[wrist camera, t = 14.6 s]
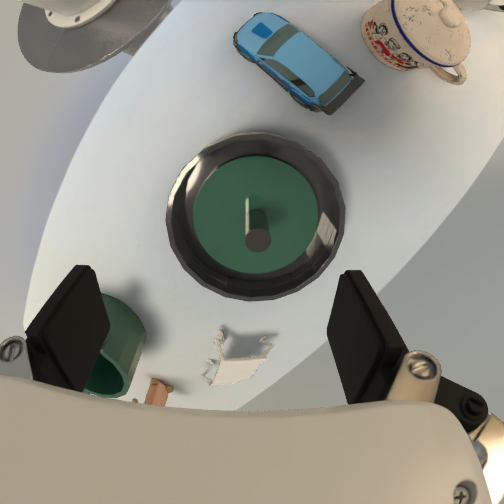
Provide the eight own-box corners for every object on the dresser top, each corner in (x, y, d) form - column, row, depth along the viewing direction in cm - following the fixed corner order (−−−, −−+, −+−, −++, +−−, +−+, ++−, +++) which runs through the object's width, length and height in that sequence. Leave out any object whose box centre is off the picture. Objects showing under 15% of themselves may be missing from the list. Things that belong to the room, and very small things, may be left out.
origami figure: (227, 312, 38) (225, 337, 34) (276, 337, 41) (279, 361, 36) (187, 358, 43) (182, 382, 38) (231, 377, 45) (230, 401, 41)
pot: (69, 339, 42) (47, 377, 33) (85, 265, 35) (52, 305, 26) (130, 371, 45) (116, 413, 36) (163, 307, 38) (145, 357, 30)
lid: (174, 234, 33) (159, 262, 27) (234, 130, 27) (230, 134, 22) (272, 286, 36) (277, 320, 30) (339, 198, 31) (360, 219, 25)
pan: (151, 238, 33) (140, 253, 30) (226, 100, 26) (223, 98, 23) (276, 303, 38) (279, 323, 34) (363, 191, 31) (377, 201, 27)
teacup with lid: (342, 30, 22) (389, -3, 12) (384, -7, 19) (435, -40, 9) (415, 105, 26) (481, 112, 16) (450, 64, 23) (514, 61, 13)
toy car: (263, 11, 22) (266, -8, 17) (348, 82, 25) (369, 77, 20) (225, 47, 24) (221, 33, 19) (313, 118, 27) (328, 119, 22)
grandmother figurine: (181, 387, 47) (171, 447, 35) (174, 396, 48) (164, 453, 37) (142, 370, 45) (124, 430, 33) (137, 380, 46) (120, 437, 35)
